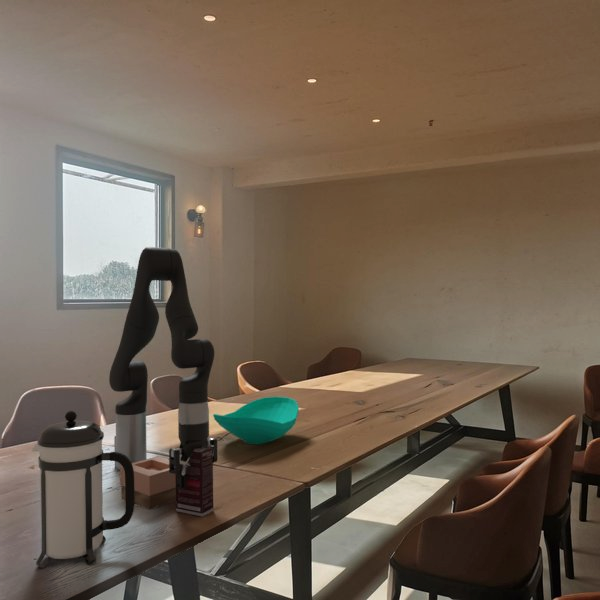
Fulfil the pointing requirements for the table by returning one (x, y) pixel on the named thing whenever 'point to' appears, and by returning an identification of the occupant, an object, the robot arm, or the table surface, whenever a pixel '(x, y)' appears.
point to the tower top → (151, 476)
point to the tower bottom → (152, 498)
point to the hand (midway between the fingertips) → (194, 485)
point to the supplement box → (197, 485)
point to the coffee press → (76, 490)
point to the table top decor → (261, 419)
